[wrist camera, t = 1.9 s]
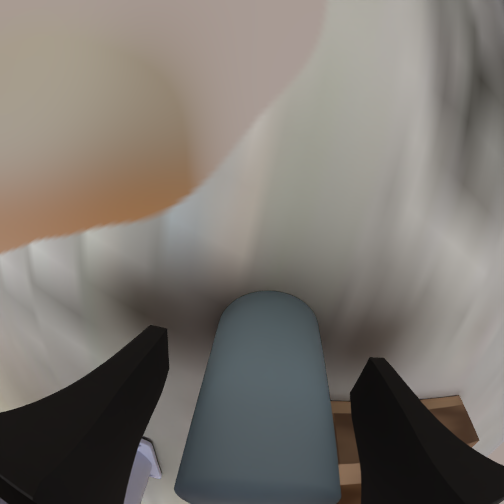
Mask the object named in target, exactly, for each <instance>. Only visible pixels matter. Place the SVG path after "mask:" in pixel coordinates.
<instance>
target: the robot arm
mask: <svg viewBox="0 0 504 504" xmlns="http://www.w3.org/2000/svg"><path fill="white" fill-rule="evenodd" d="M168 371H169V356H168V337H167V329H166V328H161V327H157V326H153V325H150V326H149V327H147V328H146V329H145V330H144V331H143V332H141V333H140V334H139V335H138V336H137V337H136V338H134V339H133V340H132V341H131V342H130V343H128V344H127V345H126V346H125V347H124V348H122V349H121V350H120V351H119V352H117V353H116V354H115V355H114V356H112V357H111V358H110V359H108V360H107V361H106V362H104V363H103V364H102V365H100V366H99V367H97V368H96V369H95V370H93V371H92V372H90V373H89V374H87V375H86V376H84V377H83V378H81V379H80V380H78V381H76V382H75V383H73V384H71V385H69V386H68V387H66V388H64V389H62V390H60V391H58V392H56V393H54V394H52V395H50V396H48V397H45V398H43V399H41V400H39V401H36V402H34V403H31V404H28V405H25V406H22V407H19V408H16V409H13V410H9V411H6V412H1V413H0V504H141V501H142V498H143V494H144V491H145V488H146V485H147V482H148V478H149V476H150V477H153V478H157V479H161V477H162V474H161V471H160V468H159V465H158V462H157V459H156V456H155V452H154V449H153V446H152V444H151V443H150V442H148V441H146V440H143V439H142V436H143V434H144V432H145V429H146V427H147V425H148V423H149V420H150V418H151V416H152V414H153V412H154V409H155V407H156V405H157V402H158V400H159V398H160V396H161V393H162V391H163V388H164V384H165V381H166V378H167V374H168ZM350 401H351V417H352V423H353V428H354V434H355V439H356V445H357V450H358V456H359V462H360V470H361V504H499V503H500V502H502V501H503V500H504V466H503V465H500V464H498V463H496V462H494V461H492V460H491V459H489V458H487V457H485V456H484V455H482V454H480V453H479V452H477V451H476V450H474V449H473V448H471V447H470V446H469V445H467V444H466V443H464V442H463V441H462V440H461V439H459V438H458V437H457V436H456V435H454V434H453V433H452V432H451V431H450V430H449V429H448V428H447V427H445V426H444V425H443V424H442V423H441V422H440V421H439V420H438V419H437V418H436V417H435V416H434V415H433V414H432V413H431V412H430V411H429V410H428V408H427V407H426V406H425V405H424V404H423V403H422V402H421V401H420V400H419V398H418V397H417V396H416V395H415V394H414V393H413V391H412V390H411V389H410V388H409V387H408V385H407V384H406V383H405V382H404V381H403V379H402V378H401V377H400V376H399V375H398V373H397V372H396V371H395V370H394V369H393V367H392V366H391V365H390V364H389V363H388V362H387V361H386V360H385V359H384V358H373V357H370V358H369V360H368V362H367V363H366V365H365V367H364V369H363V371H362V373H361V375H360V376H359V378H358V380H357V382H356V384H355V385H354V387H353V389H352V391H351V392H350Z"/></svg>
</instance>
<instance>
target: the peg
mask: <svg viewBox="0 0 504 504" xmlns="http://www.w3.org/2000/svg"><path fill="white" fill-rule="evenodd" d="M174 491H175V493H176V494H177V495H178V496H179V497H180V498H182V499H183V500H185V501H187V502H188V503H190V504H336V503H338V502H339V500H340V499H341V487H340V476H339V466H338V457H337V448H336V439H335V431H334V423H333V416H332V408H331V401H330V394H329V387H328V381H327V374H326V368H325V362H324V356H323V350H322V344H321V338H320V332H319V327H318V322H317V319H316V317H315V314H314V313H313V311H312V310H311V309H310V308H309V306H308V305H306V304H305V303H304V302H303V301H301V300H300V299H298V298H296V297H294V296H292V295H289V294H286V293H282V292H278V291H259V292H253V293H249V294H247V295H244V296H242V297H240V298H238V299H236V300H235V301H233V302H232V303H231V304H230V305H229V306H228V307H227V308H226V309H225V310H224V312H223V314H222V315H221V318H220V321H219V324H218V328H217V332H216V335H215V339H214V342H213V346H212V349H211V353H210V357H209V360H208V364H207V367H206V371H205V375H204V378H203V382H202V385H201V389H200V393H199V396H198V400H197V404H196V407H195V411H194V415H193V419H192V422H191V426H190V430H189V433H188V437H187V441H186V445H185V448H184V452H183V456H182V460H181V464H180V467H179V471H178V475H177V479H176V483H175V487H174Z"/></svg>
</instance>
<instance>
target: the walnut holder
mask: <svg viewBox="0 0 504 504" xmlns="http://www.w3.org/2000/svg"><path fill="white" fill-rule="evenodd" d="M420 401H421V402H422V403H423V404H424V405H425V406H426V407H427V408H428V410H429V411H430V412H431V413H432V414H433V415H434V416H435V417H436V418H437V419H438V420H439V421H440V422H441V423H442V424H443V425H444V426H445V427H447V428H448V429H449V430H450V431H451V432H452V433H453V434H454V435H456V436H457V437H458V438H459V439H461V440H462V441H463V442H464V443H466V444H467V445H469V446H470V447H471V448H472V447H473V446H474V445H475V444H476V443H477V442H478V441H479V438H478V436H477V434H476V431H475V429H474V427H473V424H472V422H471V420H470V418H469V415H468V413H467V411H466V409H465V407H464V405H463V403H462V400H461V398H460V396H452V397H443V398H434V399H422V400H420ZM331 408H332V416H333V423H334V431H335V439H336V448H337V457H338V466H339V476H340V487H341V499H340V500H339V502H338V503H336V504H361V470H360V462H359V456H358V450H357V445H356V439H355V434H354V428H353V423H352V417H351V402H346V401H331Z"/></svg>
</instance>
